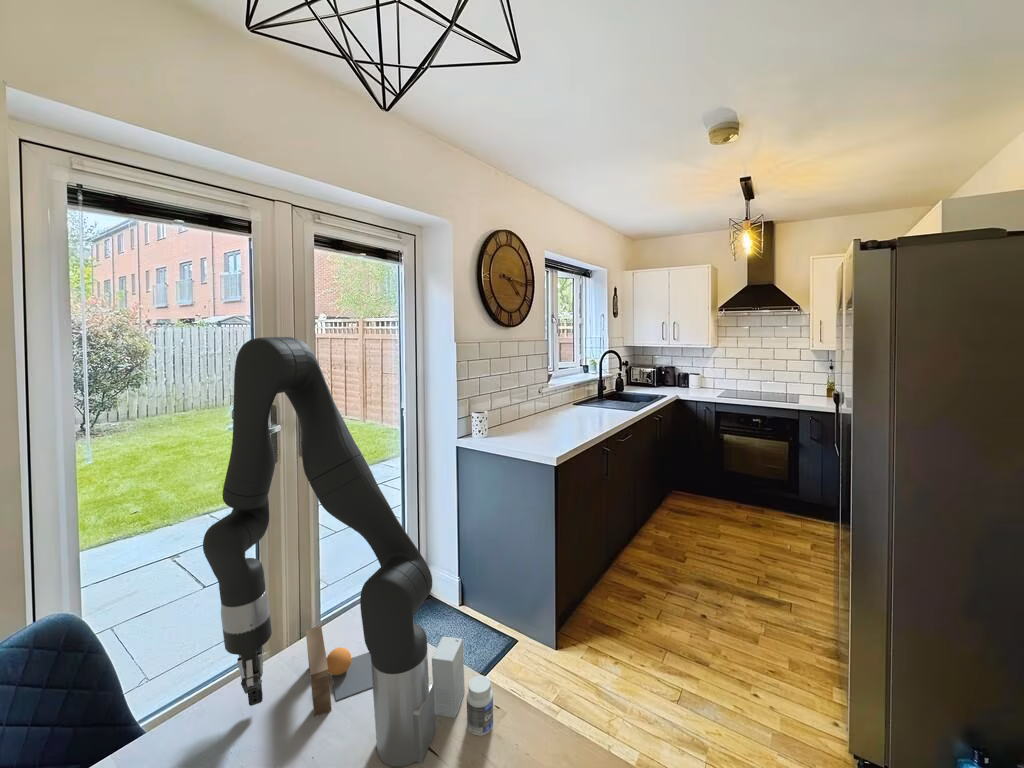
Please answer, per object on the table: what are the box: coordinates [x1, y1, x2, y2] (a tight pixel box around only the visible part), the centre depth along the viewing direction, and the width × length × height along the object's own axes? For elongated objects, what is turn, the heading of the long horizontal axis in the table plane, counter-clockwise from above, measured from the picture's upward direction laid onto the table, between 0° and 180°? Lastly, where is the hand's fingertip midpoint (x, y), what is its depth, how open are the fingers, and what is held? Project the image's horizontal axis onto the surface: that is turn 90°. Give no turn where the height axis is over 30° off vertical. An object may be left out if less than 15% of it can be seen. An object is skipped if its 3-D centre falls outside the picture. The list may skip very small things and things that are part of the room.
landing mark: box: [331, 651, 373, 702], centre depth 95 cm, size 10×10×1 cm
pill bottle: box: [466, 675, 494, 736], centre depth 82 cm, size 5×5×8 cm
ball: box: [326, 646, 352, 676], centre depth 95 cm, size 5×5×5 cm
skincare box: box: [431, 636, 466, 719], centre depth 87 cm, size 6×4×12 cm
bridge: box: [305, 625, 332, 718], centre depth 91 cm, size 3×14×9 cm, turn 27°
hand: (256, 701), depth 86 cm, fingers closed
